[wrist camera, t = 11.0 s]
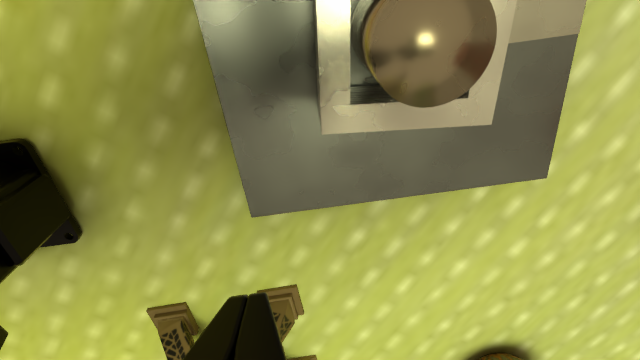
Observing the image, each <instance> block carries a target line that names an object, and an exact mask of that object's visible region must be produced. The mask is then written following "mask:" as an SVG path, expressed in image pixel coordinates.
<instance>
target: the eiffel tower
mask: <svg viewBox="0 0 640 360" xmlns="http://www.w3.org/2000/svg"><path fill="white" fill-rule="evenodd" d="M261 292H266V293H267V295H268V298H269V302H270V305H271V308H272V312H273V315H274V319H275V322H276V325H277V329H278V332H279V336H280V339H281V342H283V340H284V339H285V337H286V336H287V334H288V333H289V331H290V330H291V328H292V326H293V325H294V323H295V322H294V320H295V319H298V315H303V314H304V310H303V307H302V303H301V299H300V296H299V292H298V288H297V285H290V286H284V287H278V288H272V289H265V290H259V291H257V293H261ZM147 313H148V315H149V316H150V318H151V320H152V321H153V323H154V325H155V326H156V328H157V330H158V334H159V337H160V339H161V342H162V345H163V348H164V351H165V354H166V357H167V360H182V359H183V358H184V357H185V355H186V354H187V353H188V351H189V350H190V349H191V347H192V346H193V345H194V340H193V337H192V335H197V333H198V330H199V327H198V325H197V323H196V321H195V319H194V317H193V315H192V313H191V311H190V309H189V307H188V305H187V303H186V302H184V303H177V304H171V305H165V306H158V307H152V308H148V309H147ZM287 360H317V358H316V355H311V356H304V357H298V358H291V359H287Z"/></svg>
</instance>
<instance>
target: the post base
mask: <svg viewBox="0 0 640 360" xmlns="http://www.w3.org/2000/svg"><path fill="white" fill-rule="evenodd" d="M193 2H194V6H195V10H196V14H197V17H198V21H199V25H200V28H201V32H202V36H203V39H204V43H205V47H206V51H207V54H208V58H209V62H210V65H211V69H212V73H213V77H214V80H215V84H216V88H217V91H218V95H219V99H220V102H221V106H222V110H223V114H224V117H225V121H226V125H227V128H228V132H229V136H230V140H231V143H232V147H233V151H234V154H235V158H236V162H237V165H238V169H239V173H240V177H241V180H242V184H243V188H244V191H245V195H246V199H247V202H248V206H249V210H250V214H251V217H259V216H267V215H274V214H282V213H289V212H297V211H304V210H312V209H319V208H327V207H334V206H342V205H349V204H357V203H364V202H372V201H379V200H387V199H394V198H402V197H409V196H416V195H424V194H431V193H439V192H446V191H454V190H461V189H469V188H476V187H484V186H491V185H499V184H506V183H514V182H521V181H529V180H536V179H544V178H547V175H548V170H549V165H550V161H551V156H552V152H553V147H554V143H555V138H556V133H557V129H558V124H559V120H560V115H561V111H562V106H563V101H564V97H565V92H566V88H567V83H568V78H569V74H570V69H571V65H572V60H573V56H574V51H575V46H576V42H577V37H578V34H579V32H580V27H581V23H582V18H583V13H584V9H585V4H586V0H517V3H516V8H515V13H514V18H513V23H512V28H511V33H510V37H509V42H508V47H507V52H506V57H505V62H504V67H503V71H502V76H501V81H500V86H499V91H498V96H497V101H496V105H495V110H494V115H493V120H492V125H477V126H460V127H443V128H426V129H409V130H392V131H375V132H357V133H340V134H323V135H322V133H321V127H320V120H319V113H318V91H317V69H316V47H315V25H314V3H313V0H193ZM496 38H497V22H496V16H495V12H494V9H493V6H492V3H491V2H490V0H350V87H359V86H377V85H381V86H382V88H383V89H384V90H385V91H386V92H387V93H388V94H389V95H390V96H391V97H393V98H394V99H395V100H397V101H399V102H401V103H403V104H406V105H409V106H413V107H420V108H427V107H435V106H440V105H443V104H446V103H448V102H451V101H453V100H455V99H456V98H458V97H460V96H461V95H463V94H464V93H465V92H467V91H468V90H469V89H470V88H471V87H472V86H473V85H474V84H475V83H476V82H477V81H478V80H479V78H480V77H481V76H482V74H483V73H484V71H485V70H486V68H487V66H488V64H489V62H490V60H491V57H492V55H493V52H494V48H495V44H496Z"/></svg>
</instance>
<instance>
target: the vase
mask: <svg viewBox="0 0 640 360" xmlns="http://www.w3.org/2000/svg"><path fill="white" fill-rule="evenodd" d="M478 360H523V359H521V358H519V357H516V356H513V355H510V354H506V353H495V354H490V355H487V356H484V357H482V358H480V359H478Z"/></svg>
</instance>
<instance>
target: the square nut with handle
mask: <svg viewBox="0 0 640 360" xmlns="http://www.w3.org/2000/svg"><path fill="white" fill-rule="evenodd" d="M490 2H491V3H492V6H493V9H494V12H495V16H496V22H497V38H496V44H495V48H494V52H493V55H492V57H491V60H490V62H489V64H488V66H487V68H486V70H485V71H484V73H483V74H482V76H481V77H480V78H479V80H478V81H477V82H476V83H475V84H474V85H473V86H472V87H471V88H470V89H469V90H468V91H467V92H465V93H464V94H463V95H461V96H460V97H458V98H456V99H455V100H453V101H451V102H448V103H446V104H443V105H440V106H435V107H427V108H420V107H413V106H409V105H406V104H403V103H401V102H399V101H397V100H395V99H394V98H393V97H391V96H390V95H389V94H388V93H387V92H386V91H385V90H384V89H383V88H382V86H381V85H377V86H359V87H350V0H313V3H314V25H315V47H316V69H317V91H318V113H319V120H320V127H321V133H322V135H323V134H340V133H357V132H375V131H392V130H409V129H426V128H443V127H460V126H477V125H492V120H493V115H494V110H495V105H496V101H497V96H498V91H499V86H500V81H501V76H502V71H503V67H504V62H505V57H506V52H507V47H508V42H509V37H510V33H511V28H512V23H513V18H514V13H515V8H516V3H517V0H490Z"/></svg>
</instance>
